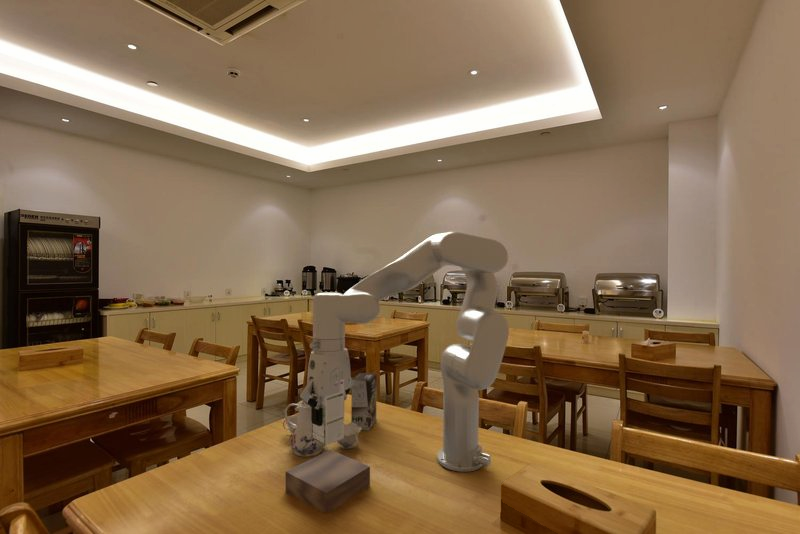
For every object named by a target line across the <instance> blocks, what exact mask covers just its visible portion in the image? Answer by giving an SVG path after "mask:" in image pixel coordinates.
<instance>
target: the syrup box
mask: <svg viewBox="0 0 800 534" xmlns="http://www.w3.org/2000/svg"><path fill="white" fill-rule="evenodd" d="M337 382H338V381H337ZM337 382H335V383H337ZM334 385H336V384H334ZM317 398H318V397H316V401H317ZM320 408H322V426H317V425H315V424H313V423H312V438H313V439H315V440H317V441H319V442H321V443H322V444H324V445H326V446H327V445H328V446H329V445H331V444H333V443H337V441H339V440H341V439H343V438H344V424H345V400H344V379H343V380H341V383H340V390H339V392H338V393H335V394H332V395H329V396H326V397H322V403H321V407H320Z"/></svg>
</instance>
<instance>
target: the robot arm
mask: <svg viewBox="0 0 800 534" xmlns="http://www.w3.org/2000/svg"><path fill="white" fill-rule="evenodd" d="M508 260H509V254H508V249H506V247H505V246H504V244H502V243H501V242H500V241H498V240H495V239H493V238H492V239H491V238H486V237H481V236H477V235H473V234H468V233H463V232H459V231H446V232H440V233H435V234H433V235H431V236H429V237H427V238H426V239H425V240H423V241H421V242H420V243H419V244H417V245H416V246H414V247H413V248H412V249H410V250H409V251H407V252H406V253H404V254H403V255H402V256H400V257H398V258H397V259H396V260H394V261H393V262H391V263H389V264H387V265H385V266H384V267H382V268H381V269H378V270H376V271H375V272H373V273H371V274H369V275H367V276H366V277H365V278H363V279H361V280H360V281H359V282H358V283H356V284H354V285H353V286H352V287H350V288H349V289H348V290H346V291H345V292H344V293H341V292H336V291H335V292H334V291H333V292H330V291H329V292H328V291H327V292H325V291H324V292H318V293H316V294H315V295H314V297H313V299H312V301H313V302H312V303H313V304H312V306H313V307H312V308H313V309H312V342H310V343H309V348H310V349H312V351H311V352H310V354H309V361H308V366H307V376H306V377H307V378H306V379H307V380H306V385H305V387H304V388H303V390H302V391H301V393H300V394H299V397H300V398H301V400H302V401H303V400H304V401H305V402H306V403H307V404H308V405H309V406H310V407H311V420H312V423H313V424H315V425H317V426H322V408H320V407H321V403H322V397H326V396H329V395H332V394H335V393H338V392H339V390H340V383H341V380H343V379H344V401H346V400H347V396H348V394H349V393H350V390H351V389H352V385H353V383H354V381H353V380H352V379H353V378H352V377H351V363H350V362H351V361H350V356H349V355H350V354H349V351H348V348H346V323H352V324H360V325H361V324H368V323H369V324H370V323H371V322H373V321H374V320H376V319H377V318H378V316H379V314H380V310H381V306H380V302H381V301H382V300H384V299H386V298H388V297H390V296H392V295H393V296H394V295H395V294H399V293H403V292H407V291H411V290H412V289H414V288H417V287H418V286H419V285H421V284H422V283H423V282H424V281H426V280H427V279H429V278H430V277H431V276H433V275H434V274H435V273H437V272H438V271H439V270H441V269H442V268H444V267H445V266H454V267H459V268H460V269H461V270H462V272H463V273H464V276H465V280H466V288H465V289H466V290H465V295H464V297H463V301H462V303H461V308H460V311H459V313H458V316H457V319H456V320H457V321H456V332H457V334H458V335H459V336H460V337H461V338H462V339H465V340H466V341H469V342H471V346H470V345H468V344H463V343H453V344H450V345H448V346H447V347H446V348H445V349H444V350H443V351H442V353H441V356H440V357H441V358H440V371H441V379H442V387H443V388H442V393H443V395H442V396H443V397H442V398H443V399H442V400H443V403H442V405H443V408H442V409H443V412H442V415H443V417H442V418H443V419H442V421H443V422H442V427H443V429H442V448H441V449H440V450H439V451H438V452H437V454H436V456H437V459H436V460H437V463H438V464H440V465H441V466H442V467H444V468H445V469H448V470H450V471H453V472H454V471H455V472H458V473H459V472H461V473H467V472H475V471H477V470H479V469H481V468H482V467H483V466H486V467H487V468H489V467H490V466H491V464H492V460H491V454H488V453H484V452H483V446H482V445H481V444H479V415H480V413H479V405H480V401H479V400H480V398H479V397H480V395H479V391H482V390H486V389H488V388H490V387H491V386H492V385H493V384H494V382H495V380H496V379H497V377H498V374H499V371H500V368H501V364H502V361H503V358H504V354H505V351H506V347H507V344H508V341H509V335H510V328H509V324H508V321H507V319H506V317H505V316H504V315H503V314H502V313H501V312H499V311H497V310H494V309H495V306H496V303H497V297H498V292H499V291H498V290H499V287H498V282H497V279H496V276H495V273H499V272H500V271H502V270H503V269H504V268H505V267H506V265H507V263H508ZM337 381H338V382H337ZM335 382H337V383H335ZM334 384H336V385H334ZM310 395H311V397H310ZM316 397H318V398H317V401H316Z"/></svg>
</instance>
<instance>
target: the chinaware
mask: <svg viewBox="0 0 800 534" xmlns="http://www.w3.org/2000/svg"><path fill="white" fill-rule="evenodd" d="M311 396H312V394H310V397H311ZM292 406H293V407H295V408H294V410H295V412H296V411H297V412H298V413H296V414H294V415H292V416H291V415H288V413H287V412H288V409H289V408H290V407H292ZM283 416H284V417H283V418H284V421H283V422H282V426H283V429H284V430H286V431H289V432H290V433H291V434H292V436H291V438H290V440H289V441H288V446H289V447H290V448H291V449H292V450H293V454H294V455H295V456H299V457H303V458H304V457H305V458H307V457H313V456H314V457H315V456H316V455H317V456H318V455H320V454H322V452H323V451H324V447H327V445H324V444H322V443H321V442H319V441H317V440H315V439H313V438H312V420H311V407H310V406H309V405H308V404H307V403H306V402H305V401H304V400H303V399H302V400H300V401H299V402H297V403H289V404H287V406H285V408H284V411H283ZM285 425H287V427H286V426H285ZM361 431H363V430H362V427H358V426H357V424H355V423H351V422H349V423H347V424H345V423H344V438H343V439H341V440H339V441H336V443H337V444H339V445H340V446H341V449H345V450H348V449H353V448H355V449H356V448H358V447H359V435H360V433H361ZM355 443H356V445H354V444H355Z"/></svg>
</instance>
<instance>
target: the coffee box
mask: <svg viewBox="0 0 800 534" xmlns="http://www.w3.org/2000/svg"><path fill="white" fill-rule="evenodd" d="M377 377H378V375H377V373H372V372H365V373H364V372H359V373H358V374H357V375H356V376H354V377H353V378H352V380H353V381H354V383H353V385H352V387H351V407H350V409H351V415H350V418H351V419H350V420H351V422H350V423H355V424H357V426H358V427H362V430H361V431H366V432H367V431H368V432H369V431H370V430H371V428H373V426H374V424H375V423H376V421H377V391H378V390H377V389H378V388H377V386H378V385H377V384H378V383H377V382H378V381H377V380H378V379H377Z"/></svg>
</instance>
